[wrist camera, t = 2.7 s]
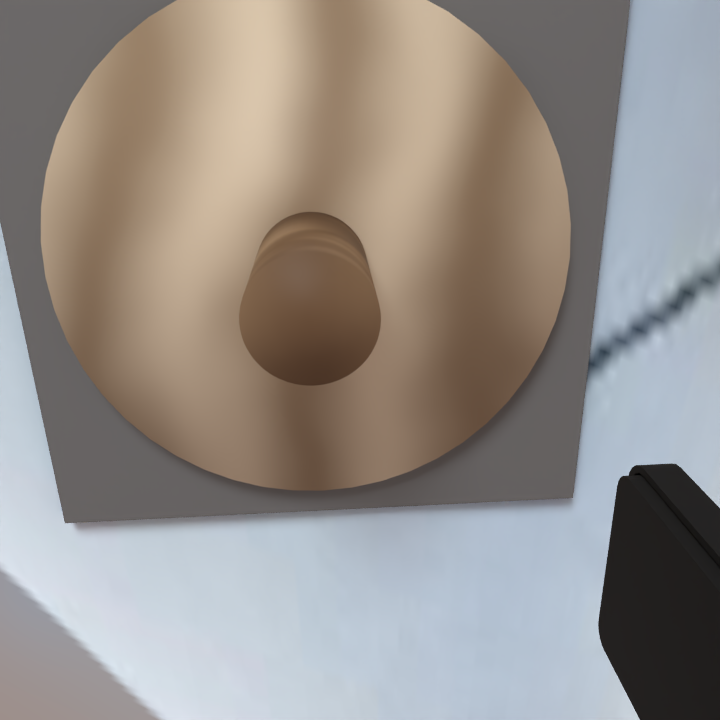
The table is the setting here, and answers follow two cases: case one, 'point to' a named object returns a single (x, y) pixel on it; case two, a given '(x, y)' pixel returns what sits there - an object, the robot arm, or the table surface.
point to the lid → (305, 235)
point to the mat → (230, 497)
